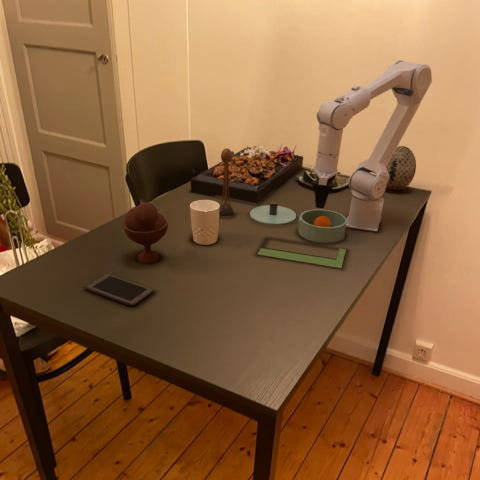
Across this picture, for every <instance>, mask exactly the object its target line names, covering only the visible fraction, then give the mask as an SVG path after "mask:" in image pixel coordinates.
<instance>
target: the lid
mask: <svg viewBox="0 0 480 480" xmlns="http://www.w3.org/2000/svg"><path fill="white" fill-rule="evenodd" d="M249 217H250V219H252V220H253V221H254V222H257V223H259V224H263V225H270V226H281V225H283V226H284V225H287V224H291V223H293V222H295V220H296V219H297V214H296V211H294V210H293V209H291V208H289V207H287V206H286V207H285V206H281V205H279V203H278V201H273V200H272V201H270V202H269V204H268V205H260V206H256V207H254V208H252V209H251V210H250V212H249Z"/></svg>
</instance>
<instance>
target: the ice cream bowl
mask: <svg viewBox="0 0 480 480" xmlns="http://www.w3.org/2000/svg"><path fill="white" fill-rule="evenodd" d="M122 226H123V229H124V232H125V235H126V237H127V238H128V239H129V240H131V241H132V242H134V243H136V244H138V245H140V246H143V249H144V251H142V252H141V253H139V254H138V255H137V260H138V262H141V263H143V264H152V263H155V262H157V261H158V260H159V259H160V255H159V253H158V252H155V251H153V250H152V245H155V244H156V243H158V242H160V240H161V239H162V238H163V237H164V236H165V235H166V233H167V231H168V228H169V223H168V220H167V218H165V216H164V215H163V214H161V213H159V211H158V208H157V207H156V206H155V205H154V204H153V203H151V202H145V201H143V202H141V203H139V204H138V205H137V206H133V207H132V208H130V209H129V210H128V211H126V213H125V216H124V221H122Z"/></svg>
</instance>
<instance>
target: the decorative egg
mask: <svg viewBox="0 0 480 480" xmlns="http://www.w3.org/2000/svg"><path fill="white" fill-rule="evenodd" d="M415 156H416V155H415V154H414V152H413V151H412V150H411V148H409V147H407V146H405V145H398V146H397V148H396V150H395V152H394V154H393V155H392V157H391V159H390V161H389V163H388V165H387V167H386V168H387V171H388V173H389V176H390V178H389V180H388V182H387V185H386V189H388V190H390V191H396V192H397V191H401V190H403V189H405V188H407V187H408V186H409V185H410V184H411V183H412V181H413V180H414V178H415V175H416V170H417V160H416V157H415Z"/></svg>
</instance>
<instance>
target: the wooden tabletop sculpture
mask: <svg viewBox="0 0 480 480" xmlns="http://www.w3.org/2000/svg"><path fill="white" fill-rule="evenodd" d="M234 154H235V151H233V150H231V149H230V148H228V147H227V148H224V149H222V151H221V153H220V160H221V162H222V161H223V162H225V165H224V175H223V195H222V196H221V202H220V210H219V217H232V216H233V215H234V210H233V207H232V206H231V201H230V198H229V165H228V162H229V161H230V160H231V157H232V155H234ZM224 184H225V197H224ZM227 190H228V198H227ZM223 201H224V202H223Z"/></svg>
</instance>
